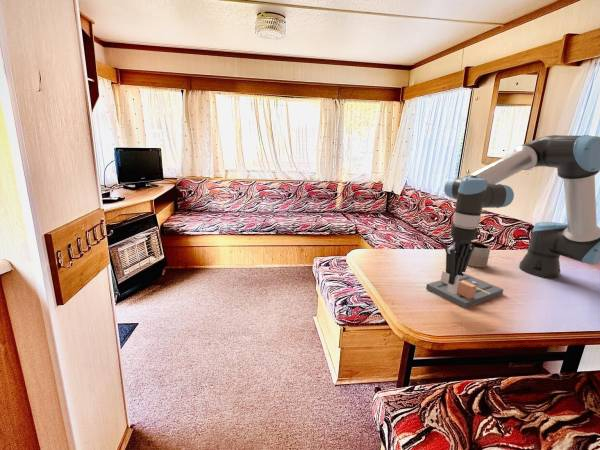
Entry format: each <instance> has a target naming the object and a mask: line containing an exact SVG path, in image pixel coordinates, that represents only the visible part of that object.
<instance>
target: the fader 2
mask: <svg viewBox="0 0 600 450" xmlns="http://www.w3.org/2000/svg"><path fill="white" fill-rule="evenodd" d="M476 287H477V286H476V285H474V284H472V283H469V282H467V281H465V280H462V281H459V284H458V288H457V293H458V294H460V295H462V296H464V297H466V298H468V299H471V298H474V296H475V292H476Z"/></svg>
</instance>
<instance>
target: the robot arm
mask: <svg viewBox="0 0 600 450" xmlns="http://www.w3.org/2000/svg"><path fill="white" fill-rule="evenodd" d="M537 167H547V168H556V170H557V176H558V177H559V178H561V179H562V180H563V188H564V198H565V199H564V201H565V212H566V221H567V223H563V222H562V223H561V222H556V221H555V222H553V221H538V222H536V223H535V224H534V226H533V229H532V231H531V232H532V233H531V236H530V240H529V244H528V248H527V252H526V254H525V255H524V256H523V257H522V260H520V262H519V265H518V268H519V269H520V270H521V271H524V272H525V273H527V274H530V275H534V276H537V277H543V278H549V279H556V278H559V277H560V275H561V265H560V256H562V257H565V258H567V259H570V260H571V259H572V260H573V261H576V262H580V263H581V264H583V263H584V264H587V265H591V266H592V265H597V264H599V263H600V227H599V226H598V225H597V223H598V222H597V203H596V201H597V198H596V179H595V178H596V177H595V176H596V175H598V174H599V173H600V136H597V135H588V134H585V135H584V134H583V135H563V134H561V135H558V134H554V135H553V134H552V135H546V136H543V137H539V138H536V139H533V140H530V141H528V142H525V143H523V144H522V145H520V146H518V147H516V148H514V150H513V152H511V153H510V154H509V153H508V154H507V155H505V156H503V157H502V158H499V159H497V160H495V161H494V162H492V163H489V164H488V165H485V166H484V167H482V168H480V169H478V170H476V171H474V172H472V173H469V174H468V175H466V176H464V177H461V178H460V177H451V178H449V179H447V180H446V182H445V184H444V188H443V189H444V194H445V196H447V197H448V198H451V199H454V200H456V203H455V209H454V213H453V218H452V225H451V228H450V234H449V235H450V236H451V237H452V241H451V243H450V244H451V245H450V246H449V247H447V246H446V247H445V249H444V250H445V255H446V256H445V270H446V273H448V274H450V276H449V281H448V287H447V291H448V292H450V293H452V294H456V293H457V288H458V284H459V279H460V275H461V276H463V275H464V273H465V272H466V270H467V268H468V262H469V260H470V257H471V254H472V251H473V250H474V248H475V245H472V244H471V241H474V240H476V238H477V233H478V227H479V224H480V220H481V215H482V210H483V209H487V208H490V209H492V208H494V209H495V208H496V209H499V208H506V207H507V206H509V205H511V204H512V202H513V200H514V198H515V193H514V190H513V188H512V187H511V186H509V185H507V184H501V183H500V182H502V181H504V180H506V179H508V178H510V177H511V176H514V175H515V174H518V173H520V172H521V171H523V170H524V171H525V170H530V169H534V168H537Z"/></svg>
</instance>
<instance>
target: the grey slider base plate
mask: <svg viewBox="0 0 600 450" xmlns="http://www.w3.org/2000/svg"><path fill="white" fill-rule="evenodd" d="M463 274H464V275H463V276H461V275H460V279H459V281H462V280H465V281H467V282H469V283H472V284H474V285H476V286H477V287H476V292H475V296H474V298H471V299H468V298H466V297H464V296H462V295H460V294H458V293H456V294H452V293H450V292H448V291H447V287H448V285H447V284H445V283H443V282H441V279H440V280H437V281H433V282H429V283H426V286H425V287H426V290H428V291H429V290H430V292H432V293H434V294H435V295H438V296H440V297H441V298H444V299H445V300H448V301H450V302H452V303H453V304H456V305H457V306H460V307H462V308H464V309H467V308H469V307H471V306H474V305H478V304H480V303H483V302H485V301H488V300H491V299H493V298H496V297H499V296H501V295H503V293H504V288H501V287H499V286H496V285H494V284H491V283H490V282H488V281H487V282H486V281H484V280H482V279H480V278H476V277H474V276H472V275H470V274H467V273H465V272H463Z"/></svg>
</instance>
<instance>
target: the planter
mask: <svg viewBox="0 0 600 450" xmlns="http://www.w3.org/2000/svg"><path fill="white" fill-rule="evenodd" d="M471 244H472V245H475V248H474V250H473V251H472V254H471V257H470V260H469V262H468V265H467V267H472V268H479V269H481V268H482V269H483V268H486V267H487V266H488V262H489V257H490V253H491V252H490V251H491V246H490V245H488V244H486V243H483V242H480V241H479V242H478V241H474V240H471Z"/></svg>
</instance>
